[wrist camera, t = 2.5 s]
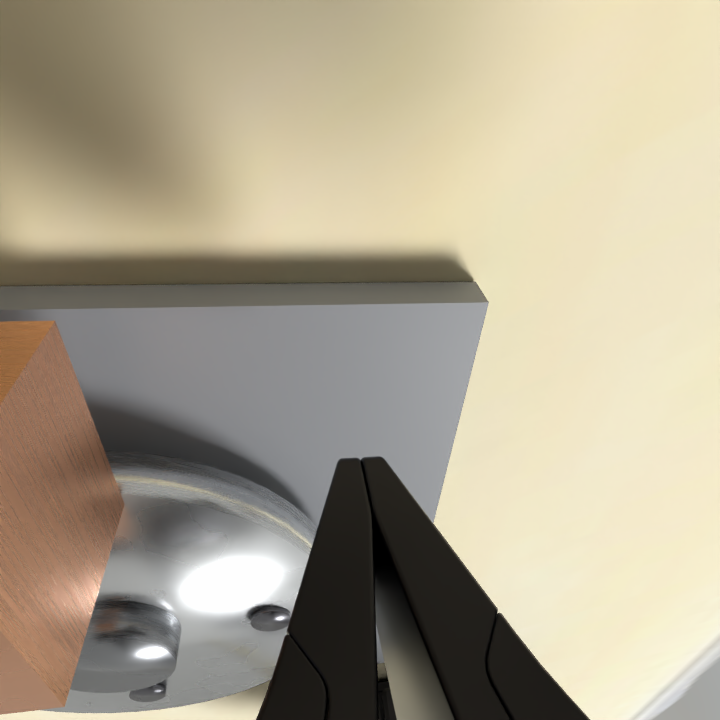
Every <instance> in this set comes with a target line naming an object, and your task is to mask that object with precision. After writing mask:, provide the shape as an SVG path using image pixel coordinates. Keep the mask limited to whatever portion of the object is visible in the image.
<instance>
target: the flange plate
mask: <svg viewBox="0 0 720 720" xmlns="http://www.w3.org/2000/svg"><path fill="white" fill-rule="evenodd" d="M316 531H317V527H316V526H315V525H314V524H313V523H312V522H311V521H310V520H309V518H308V517H307V516H306V515H305V514H304V513H302V512H301V511H300V510H299V509H298V508H296V507H295V506H294V505H293V504H291V503H290V502H289V501H287V500H286V499H284V498H283V497H281V496H279V495H278V494H276V493H274V492H273V491H271V490H269V489H268V488H266V487H264V486H262V485H259V484H257V483H255V482H253V481H251V480H248V479H246V478H244V477H242V476H239V475H236V474H233V473H231V472H228V471H225V470H222V469H219V468H216V467H213V466H209V465H205V464H201V463H197V462H193V461H189V460H185V459H181V458H176V457H169V456H163V455H156V454H150V453H143V452H130V451H116V450H104V448H103V446H102V443H101V440H100V438H99V435H98V433H97V430H96V427H95V425H94V422H93V419H92V417H91V414H90V411H89V409H88V406H87V403H86V401H85V398H84V395H83V393H82V390H81V388H80V385H79V382H78V380H77V377H76V374H75V372H74V369H73V366H72V364H71V361H70V358H69V356H68V353H67V351H66V348H65V345H64V343H63V340H62V337H61V335H60V332H59V329H58V327H57V324H56V321H6V322H0V714H8V713H17V712H25V711H34V710H44V711H55V712H74V713H118V712H137V711H147V710H158V709H165V708H172V707H179V706H185V705H190V704H195V703H200V702H205V701H209V700H213V699H217V698H221V697H225V696H228V695H231V694H235V693H238V692H241V691H244V690H247V689H249V688H252V687H255V686H257V685H260V684H262V683H265V682H267V681H269V680H271V678H272V675H273V672H274V669H275V666H276V663H277V660H278V657H279V653H280V650H281V646H282V643H283V640H284V637H285V635H287V628H288V624H289V621H290V618H291V614H292V611H293V608H294V604H295V601H296V598H297V594H298V591H299V588H300V584H301V581H302V578H303V574H304V571H305V568H306V564H307V561H308V558H309V554H310V551H311V548H312V545H313V541H314V538H315V535H316Z"/></svg>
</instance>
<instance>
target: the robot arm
mask: <svg viewBox="0 0 720 720" xmlns="http://www.w3.org/2000/svg"><path fill="white" fill-rule="evenodd" d="M497 612H498V609H497V607H496V606H495V605H494V603H493V602H492V601H491V599H490V598H489V597H488V595H487V594H486V593H485V591H484V590H483V589H482V587H481V586H480V585H479V583H478V582H477V581H476V579H475V578H474V577H473V576H472V574H471V573H470V572H469V570H468V569H467V568H466V566H465V565H464V564H463V562H462V561H461V560H460V558H459V557H458V556H457V554H456V553H455V552H454V550H453V549H452V548H451V546H450V545H449V544H448V542H447V541H446V540H445V538H444V537H443V536H442V534H441V533H440V532H439V530H438V529H437V528H436V526H435V525H434V524H433V522H432V521H431V520H430V518H429V517H428V516H427V514H426V513H425V512H424V510H423V509H422V508H421V507H420V505H419V504H418V503H417V501H416V500H415V499H414V497H413V496H412V495H411V493H410V492H409V491H408V489H407V488H406V487H405V485H404V484H403V483H402V481H401V480H400V479H399V477H398V476H397V475H396V473H395V472H394V471H393V469H392V468H391V467H390V465H389V464H388V463H387V461H386V460H385V459H384V458H383V457H381V456H373V457H363V458H362V459H361V460H360V459H359V458H356V457H355V458H341V459H339V460H338V462H337V465H336V468H335V471H334V475H333V478H332V481H331V485H330V488H329V491H328V495H327V498H326V501H325V505H324V508H323V511H322V515H321V518H320V521H319V525H318V528H317V531H316V535H315V538H314V541H313V545H312V548H311V551H310V554H309V558H308V561H307V564H306V568H305V571H304V574H303V578H302V581H301V584H300V588H299V591H298V594H297V598H296V601H295V604H294V608H293V611H292V614H291V618H290V621H289V624H288V628H287V635H285V637H284V640H283V643H282V646H281V650H280V653H279V657H278V660H277V663H276V666H275V669H274V672H273V675H272V678H271V681H270V684H269V687H268V690H267V693H266V696H265V698H264V701H263V703H262V706H261V708H260V711H259V713H258V716H257V718H256V720H590V719H589V718H588V717H587V716H586V714H585V713H584V712H583V711H582V710H581V709H580V708H579V707H578V706H577V705H576V704H575V702H574V701H573V700H572V699H571V698H570V697H569V696H568V695H567V694H566V692H565V691H564V690H563V689H562V688H561V687H560V686H559V684H558V683H557V682H556V681H555V680H554V679H553V678H552V676H551V675H550V674H549V673H548V672H547V671H546V670H545V668H544V667H543V666H542V665H541V664H540V663H539V661H538V660H537V659H536V658H535V656H534V655H533V654H532V653H531V651H530V650H529V649H528V648H527V646H526V645H525V644H524V643H523V641H522V640H521V639H520V637H519V636H518V635H517V634H516V632H515V631H514V630H513V628H512V627H511V626H510V624H509V623H508V622H507V620H506V619H505V618H504V616H503V615H502V614H501V613H498V614H497ZM376 625H377V630H378V635H379V639H380V644H381V648H382V653H383V658H384V662H385V667H386V672H387V676H388V681H386V682H378V670H377V638H376Z"/></svg>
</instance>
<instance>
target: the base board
mask: <svg viewBox="0 0 720 720" xmlns="http://www.w3.org/2000/svg"><path fill="white" fill-rule="evenodd" d="M488 303H489V302H488V301H487V299H486V297H485V296H484V294H483V293H482V291H481V290H480V288H479V286H478V285H477V283H476V282H390V283H286V284H182V285H79V286H0V322H6V321H56V324H57V327H58V329H59V332H60V335H61V337H62V340H63V343H64V345H65V348H66V351H67V353H68V356H69V358H70V361H71V364H72V366H73V369H74V372H75V374H76V377H77V380H78V382H79V385H80V388H81V390H82V393H83V395H84V398H85V401H86V403H87V406H88V409H89V411H90V414H91V417H92V419H93V422H94V425H95V427H96V430H97V433H98V435H99V438H100V440H101V443H102V446H103V448H104V450H116V451H130V452H143V453H150V454H156V455H163V456H169V457H176V458H181V459H185V460H189V461H193V462H197V463H201V464H205V465H209V466H213V467H216V468H219V469H222V470H225V471H228V472H231V473H233V474H236V475H239V476H242V477H244V478H246V479H248V480H251V481H253V482H255V483H257V484H259V485H262V486H264V487H266V488H268V489H269V490H271V491H273V492H274V493H276V494H278V495H279V496H281V497H283V498H284V499H286V500H287V501H289V502H290V503H291V504H293V505H294V506H295V507H296V508H298V509H299V510H300V511H301V512H302V513H304V514H305V515H306V516H307V517H308V518H309V520H310V521H311V522H312V523H313V524H314V525H315V526H316V527H317V528H318V525H319V521H320V518H321V515H322V511H323V508H324V505H325V501H326V498H327V495H328V491H329V488H330V485H331V481H332V478H333V475H334V471H335V468H336V465H337V462H338V460H339V459H341V458H355V457H356V458H359V459H360V460H361V459H362V458H363V457H373V456H381V457H383V458H384V459H385V460H386V461H387V463H388V464H389V465H390V467H391V468H392V469H393V471H394V472H395V473H396V475H397V476H398V477H399V479H400V480H401V481H402V483H403V484H404V485H405V487H406V488H407V489H408V491H409V492H410V493H411V495H412V496H413V497H414V499H415V500H416V501H417V503H418V504H419V505H420V507H421V508H422V509H423V510H424V512H425V513H426V514H427V516H428V517H429V518H430V520H431V521H432V522H434V518H435V514H436V510H437V506H438V502H439V498H440V494H441V490H442V486H443V482H444V478H445V474H446V470H447V466H448V462H449V458H450V454H451V450H452V446H453V442H454V438H455V434H456V430H457V426H458V422H459V419H460V415H461V411H462V407H463V403H464V399H465V395H466V391H467V387H468V383H469V379H470V375H471V371H472V367H473V363H474V359H475V355H476V351H477V347H478V343H479V339H480V335H481V331H482V327H483V323H484V319H485V315H486V311H487V307H488ZM376 638H377V663H385V662H384V658H383V653H382V648H381V644H380V639H379V635H378V630H377V625H376Z"/></svg>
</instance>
